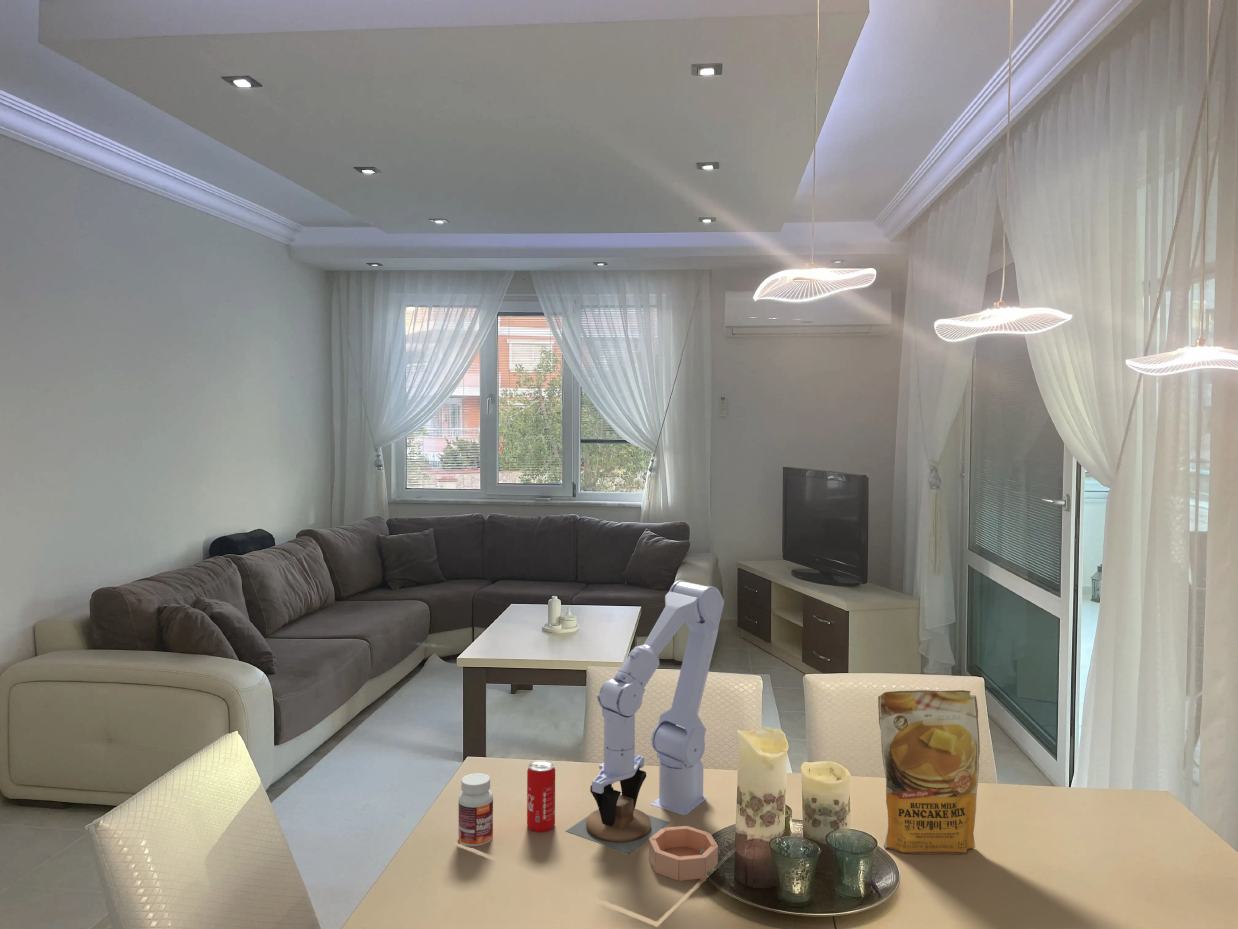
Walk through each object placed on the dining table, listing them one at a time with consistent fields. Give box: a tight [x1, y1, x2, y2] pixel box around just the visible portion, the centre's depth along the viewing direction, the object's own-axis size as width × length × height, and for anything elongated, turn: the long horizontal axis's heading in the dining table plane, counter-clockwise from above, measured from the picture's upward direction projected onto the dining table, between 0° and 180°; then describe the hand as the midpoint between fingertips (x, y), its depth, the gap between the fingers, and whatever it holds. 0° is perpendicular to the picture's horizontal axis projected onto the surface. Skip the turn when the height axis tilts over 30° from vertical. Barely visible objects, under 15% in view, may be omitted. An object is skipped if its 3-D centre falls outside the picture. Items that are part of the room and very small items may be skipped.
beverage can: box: [526, 760, 556, 833], centre depth 153 cm, size 5×5×12 cm
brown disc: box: [586, 794, 651, 843], centre depth 154 cm, size 12×12×5 cm
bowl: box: [648, 825, 719, 883], centre depth 141 cm, size 11×11×4 cm
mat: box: [565, 814, 671, 855], centre depth 154 cm, size 14×14×1 cm
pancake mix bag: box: [877, 689, 981, 855], centre depth 148 cm, size 7×19×28 cm, turn 91°
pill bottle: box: [458, 772, 494, 849], centre depth 149 cm, size 6×6×11 cm
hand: (618, 817), depth 154 cm, fingers open, 6 cm apart
